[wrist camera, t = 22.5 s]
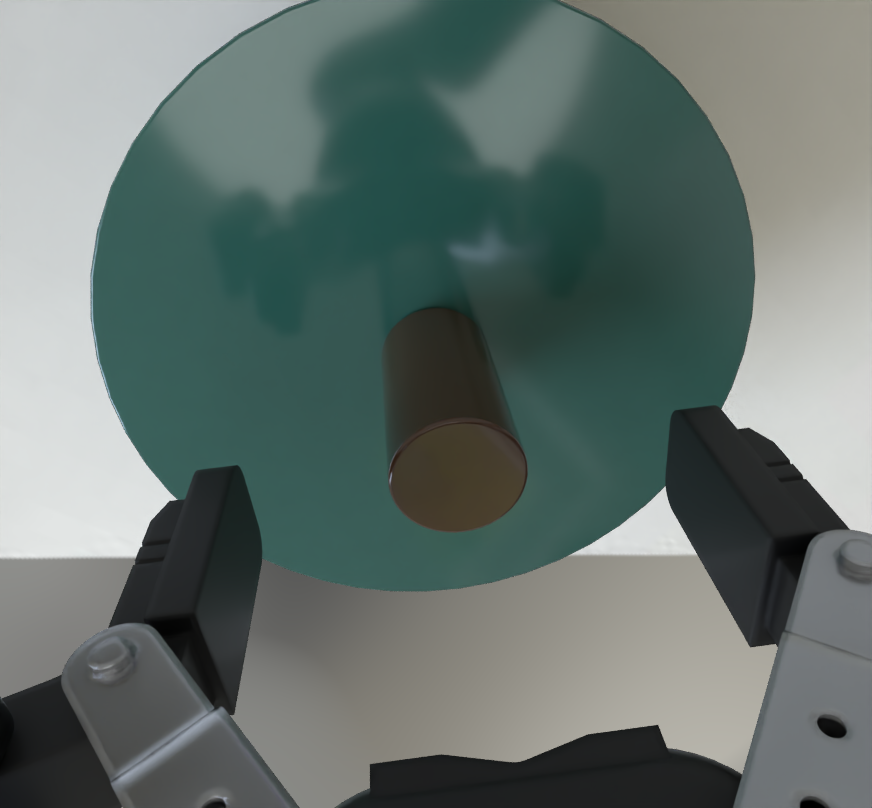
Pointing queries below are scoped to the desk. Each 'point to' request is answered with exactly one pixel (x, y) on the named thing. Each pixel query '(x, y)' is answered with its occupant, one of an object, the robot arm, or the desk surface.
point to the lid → (423, 283)
